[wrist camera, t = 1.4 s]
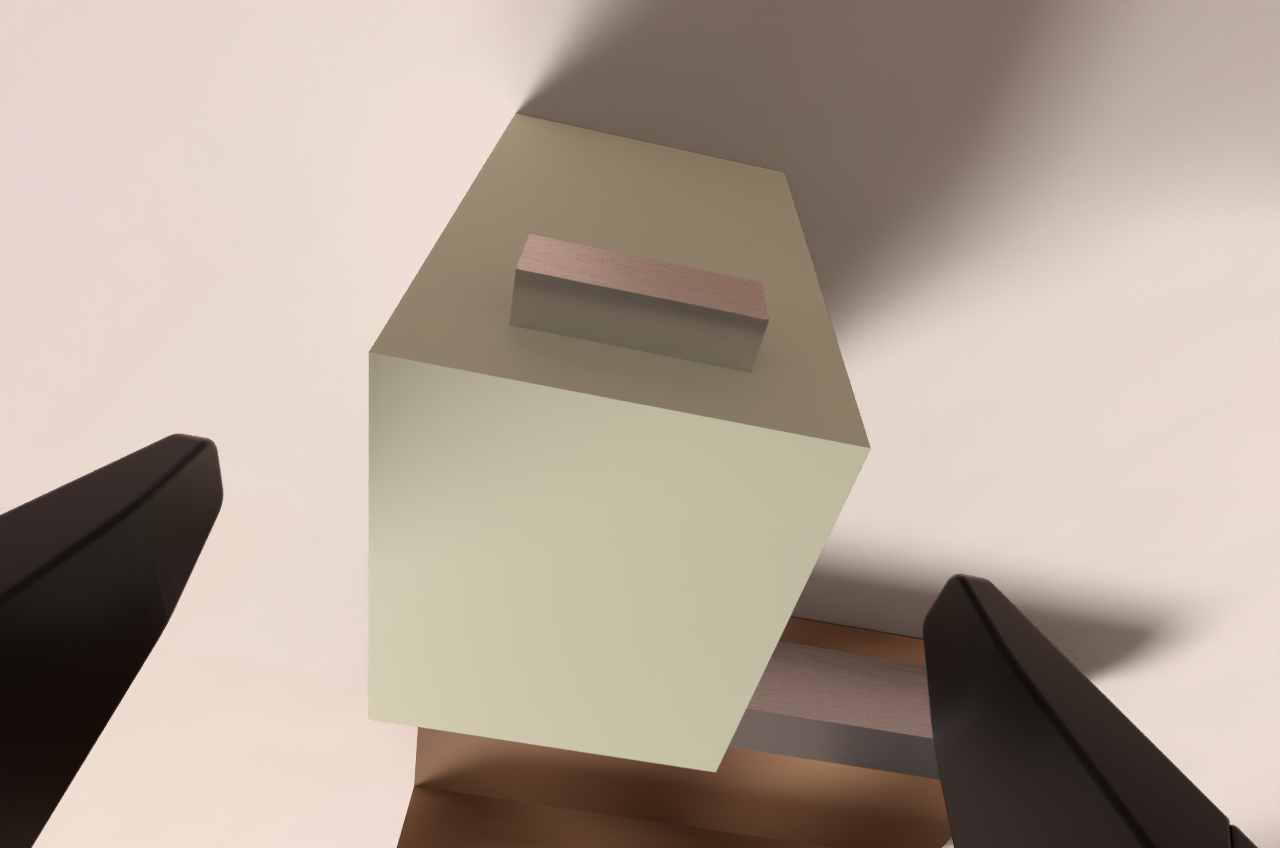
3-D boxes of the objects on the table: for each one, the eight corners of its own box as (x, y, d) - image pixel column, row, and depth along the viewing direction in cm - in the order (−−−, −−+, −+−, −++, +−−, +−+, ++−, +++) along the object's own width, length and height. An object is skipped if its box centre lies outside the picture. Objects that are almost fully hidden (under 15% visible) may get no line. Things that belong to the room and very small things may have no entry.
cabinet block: (795, 136, 13) (897, 394, 7) (703, 430, 16) (715, 772, 10) (520, 74, 13) (368, 289, 6) (486, 389, 16) (369, 718, 10)
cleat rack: (1067, 664, 20) (1175, 895, 16) (904, 858, 26) (948, 1063, 22) (436, 556, 19) (360, 775, 14) (419, 786, 25) (362, 990, 21)
